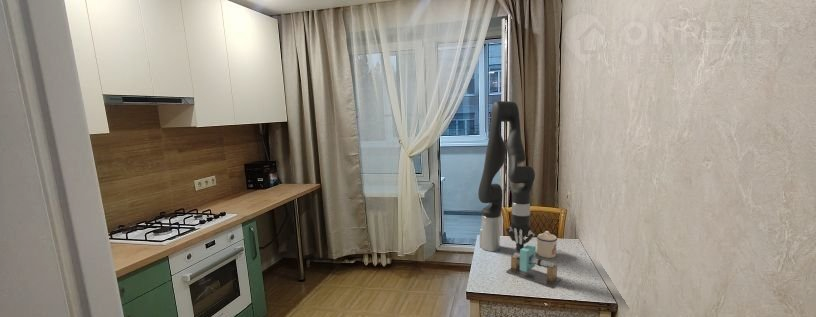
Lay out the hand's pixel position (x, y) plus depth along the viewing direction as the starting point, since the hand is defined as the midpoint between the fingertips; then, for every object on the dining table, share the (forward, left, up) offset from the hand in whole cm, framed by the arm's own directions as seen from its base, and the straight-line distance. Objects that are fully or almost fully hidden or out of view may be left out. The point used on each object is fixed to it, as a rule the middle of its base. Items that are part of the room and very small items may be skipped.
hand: (519, 251), depth 156 cm
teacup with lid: (0, +27, -10) cm, 29 cm away
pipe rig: (+6, 0, -9) cm, 11 cm away
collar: (+4, 0, -6) cm, 7 cm away
